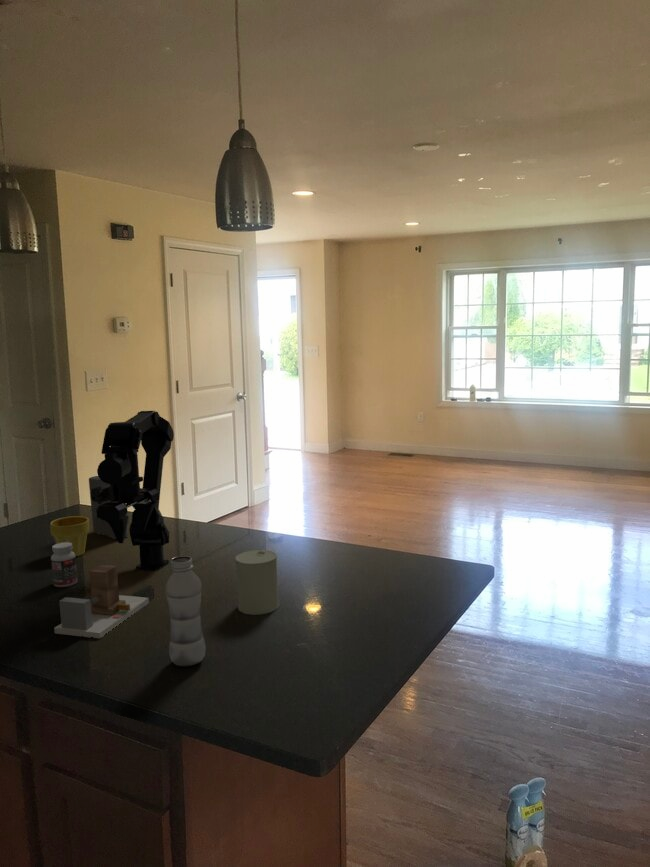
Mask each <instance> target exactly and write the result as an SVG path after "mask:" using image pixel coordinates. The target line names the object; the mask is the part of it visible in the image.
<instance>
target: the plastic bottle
mask: <svg viewBox="0 0 650 867" xmlns="http://www.w3.org/2000/svg"><path fill="white" fill-rule="evenodd" d="M193 569H194V564H193V558H192V557H191V556H189V555H180V556H175V557H173V558H171V560H170V570H171V572H172V573H171V575H170V576H169V577H168V580H167V582H166V583H165V588H164V589H165V590H164V591H165V596H166V600H167V606H168V609H169V610H168V612H169V616H170V617H169V618H170V619H169V620H170V639H169V643H168V644H169V645H168V654H169V657H170V661H171V662H172V663H173V664H174V665H175V666H178V667H190V666H195V665H198V664H199V663H200V662H202V661H203V659H204V657H205V656H206V647H207V646H206V641H205V638H204V635H203V634H204V633H203V627H202V621H201V620H202V619H201V602H202V593H203V584H202V581H201V579H200V578H199V577H198V575H197V574H196V573H195V572H194V571H193Z"/></svg>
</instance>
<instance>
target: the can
mask: <svg viewBox="0 0 650 867" xmlns="http://www.w3.org/2000/svg"><path fill="white" fill-rule="evenodd" d="M277 557H278V556H277V554H276V552H273V551H271V550H266V549H258V550H257V549H255V550H247V551H244V552H241V553H239V554H237V555H236V556H235V558H234V559H235V569H236V570H235V571H236V572H235V573H236V586H237V588H236V589H237V609H238V611H239V612H240V613H242V614H245V615H250V616H251V615H253V616H255V615H257V616H258V615H265V614H269V613H273V612H274V611H276V610H278V609H279V607H280V600H279V589H278V588H279V585H278V584H279V583H278V567H277V564H278V563H277V561H278V560H277V559H278V558H277Z"/></svg>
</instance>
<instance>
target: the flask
mask: <svg viewBox="0 0 650 867" xmlns="http://www.w3.org/2000/svg"><path fill="white" fill-rule="evenodd" d="M88 486H89V495H90V496H89V498H90V507H91V518H92V519H91V520H92V530H93V534H95V533H99V534H98V535H100V534H104V535H103V536H105V535H107V536H106V537H108V536H109V537H108V538H110V537H111V538H110V539H112V540H114V539H116V537H115V535H114V532H113V530H112V528H111V527H110V525H109V523H107V522H106V521H105V520H101V519H100V518H96V509H97V507H98V506H100V505H102V504H104V503H107V502H110V500H108V501H106V502H102V503H101V504H99V505H98V504H97V502H94V501H93V500H92V499H91V489H94V488H96V487H99V486H100V487H101V488H102V489H105V488H107V487H110V484H107V483H105V482H103V481H102V480H101V479H100V478H99V476H98V475H95V476H91V477H89V478H88ZM112 503H117V502H116V501H115V502H112ZM126 516H128V515H127V514H126ZM127 536H128V537H129V528H128V525H127V526H126V532H125V537H127ZM128 537H127V538H128Z"/></svg>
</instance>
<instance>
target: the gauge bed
mask: <svg viewBox="0 0 650 867" xmlns="http://www.w3.org/2000/svg"><path fill="white" fill-rule="evenodd" d="M90 600H91V599H88V598H79V597H78V598H77V597H66V596H65V597H63V598H62V599H60V600H59V611H60V612H59V613H60V614H59V615H60V622H61V623H60V624H58V625H57V626H54V628H53V629H54V634H57V635H65V636H66V635H67V636H73V637H75V636H76V637H82V636H83V637H85V638H91V637H93V639H100V638H101V637H102V638H104V637H105V636H106V635H107V634H109V633H110V632H111V631H113V630H114V629H115V627H116V626H117V627H118V626H120V625H121V624H123V623H124V622H125V621H126V620H128V619H129V618H130V617H132V616H133V615H135V614H136V613H138V612H139V611H140V610H142V609H143V608H144V607H145V606H147V605H148V604H149V603H150V598H149V597H144V596H143V597H141V596H133V595H120V594H119V600H125V603H126V604H130V610H129V611H125V610H119V611H117V612H116V613H114V614H113V615H110V614H100V613H91V603H90ZM134 613H135V614H134ZM131 615H132V616H131ZM128 617H129V618H128ZM127 618H128V619H127ZM124 620H125V621H124ZM123 621H124V622H123ZM120 623H121V624H120ZM119 624H120V625H119ZM113 628H114V629H113ZM112 629H113V630H112ZM109 631H110V632H109ZM108 632H109V633H108ZM106 633H107V634H106ZM105 634H106V635H105ZM104 635H105V636H104ZM102 638H101V639H102Z"/></svg>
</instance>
